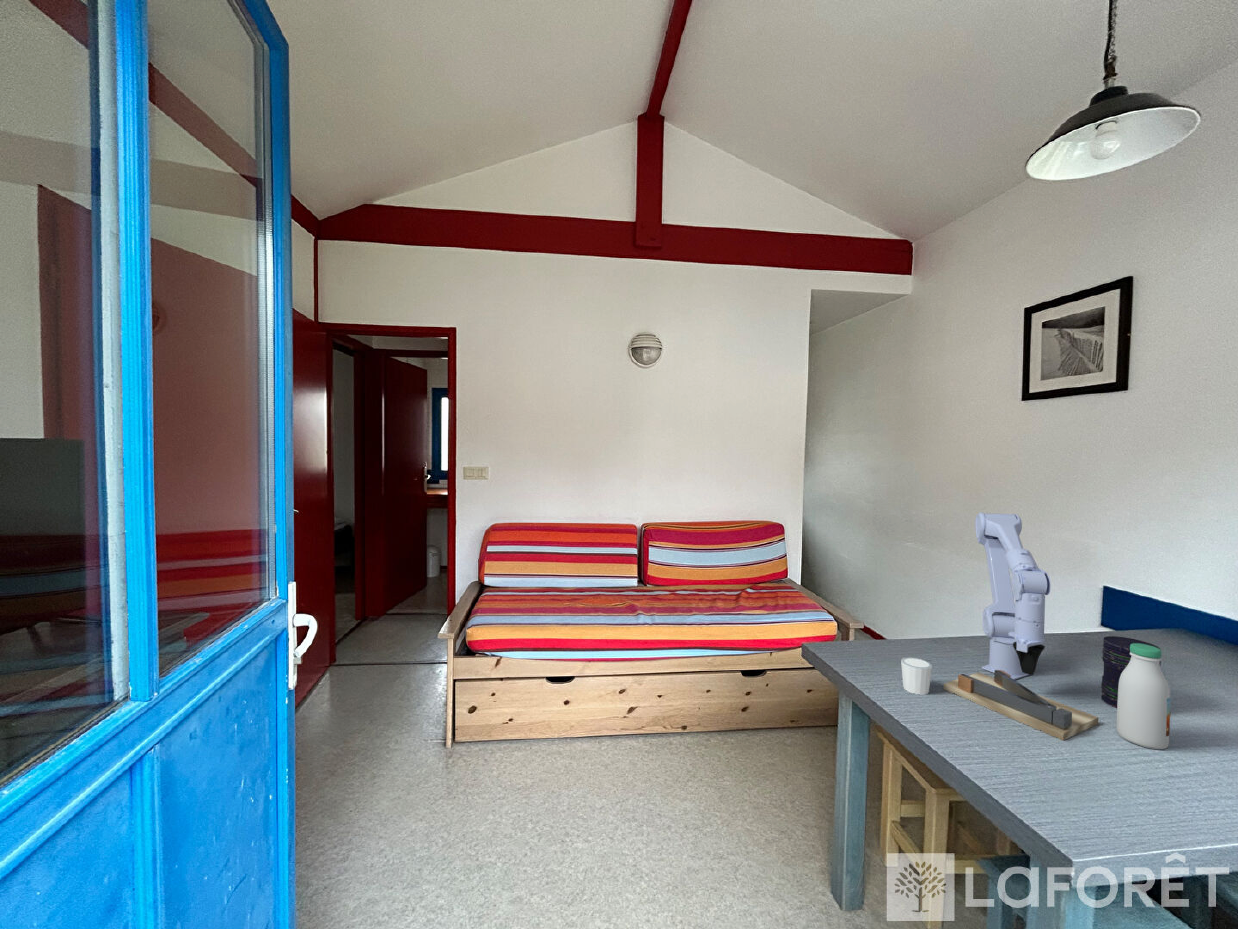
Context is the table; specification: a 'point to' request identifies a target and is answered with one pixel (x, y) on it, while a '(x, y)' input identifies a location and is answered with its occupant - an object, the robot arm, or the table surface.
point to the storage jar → (1115, 665)
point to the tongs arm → (1018, 688)
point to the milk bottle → (1144, 699)
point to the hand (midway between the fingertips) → (1027, 673)
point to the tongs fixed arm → (1016, 702)
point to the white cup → (916, 675)
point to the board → (1078, 717)
